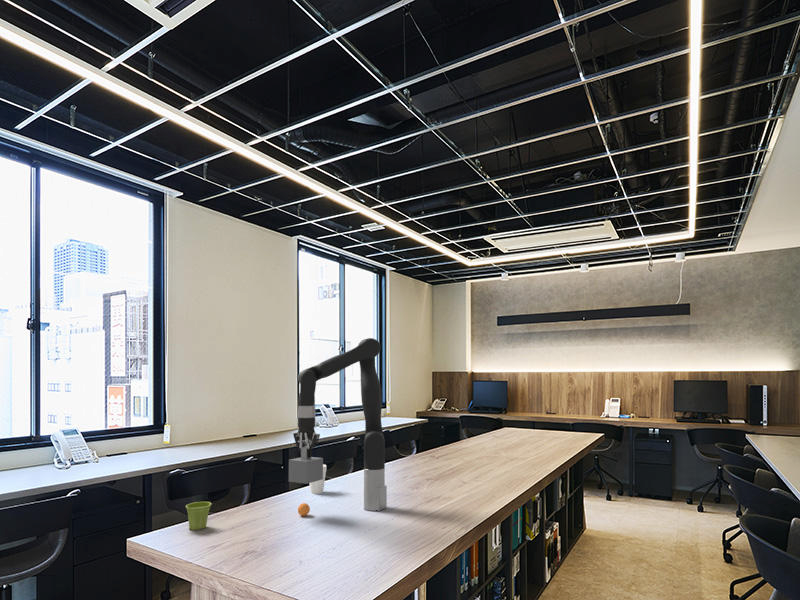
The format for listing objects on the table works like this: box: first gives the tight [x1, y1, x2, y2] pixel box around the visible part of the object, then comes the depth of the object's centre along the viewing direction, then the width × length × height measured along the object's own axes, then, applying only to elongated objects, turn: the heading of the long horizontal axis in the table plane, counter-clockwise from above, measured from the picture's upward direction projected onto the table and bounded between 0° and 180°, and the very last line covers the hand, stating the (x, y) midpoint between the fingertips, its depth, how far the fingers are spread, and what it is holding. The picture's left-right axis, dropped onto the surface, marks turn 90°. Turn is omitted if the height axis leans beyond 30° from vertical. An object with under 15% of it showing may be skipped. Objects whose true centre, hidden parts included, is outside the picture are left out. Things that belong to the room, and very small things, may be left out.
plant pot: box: [185, 501, 212, 531], centre depth 198 cm, size 9×9×9 cm
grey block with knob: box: [288, 445, 324, 485], centre depth 216 cm, size 10×10×14 cm
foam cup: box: [308, 463, 327, 495], centre depth 255 cm, size 10×9×13 cm
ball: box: [297, 502, 311, 517], centre depth 214 cm, size 5×5×5 cm
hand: (306, 457), depth 217 cm, fingers closed on grey block with knob, 3 cm apart
